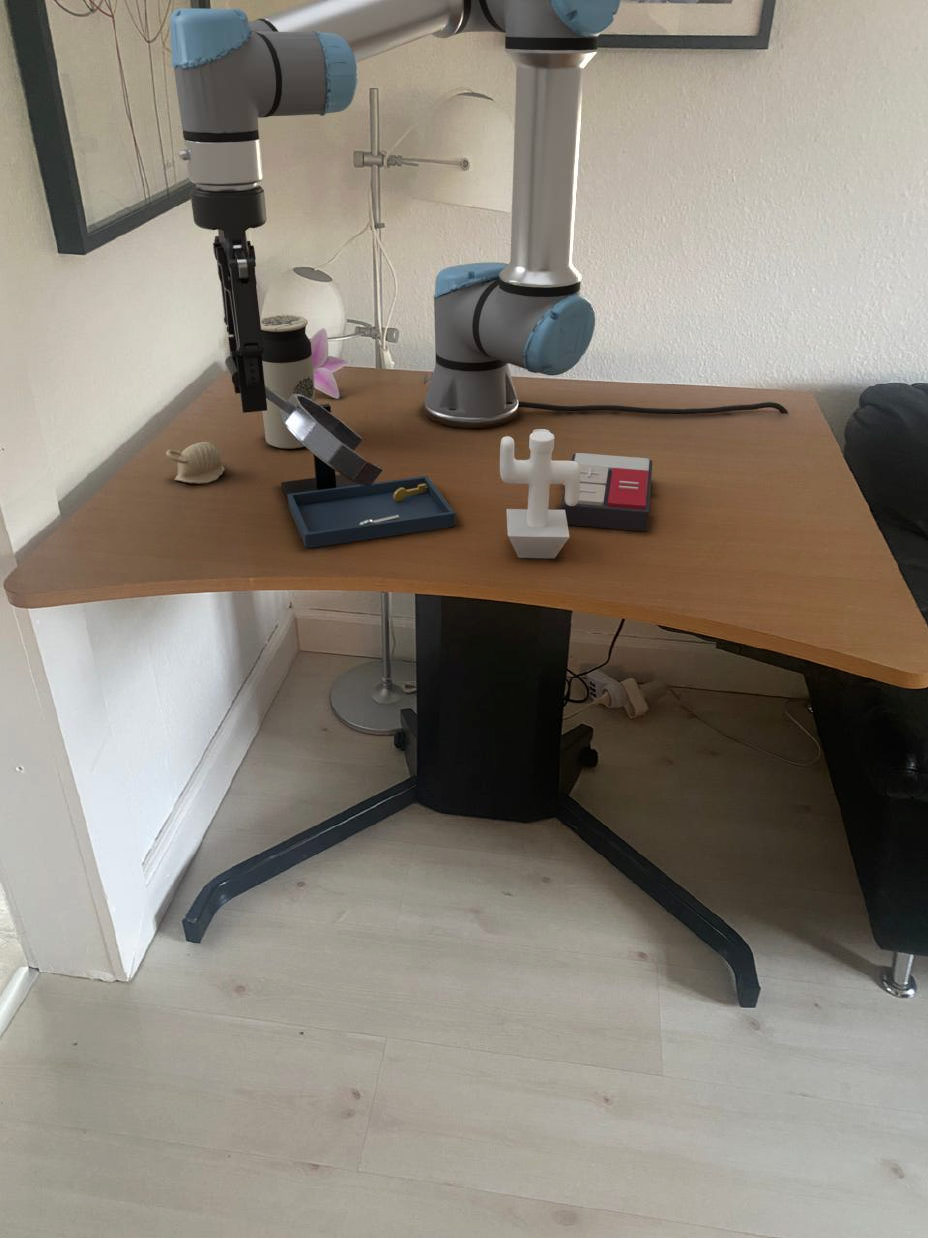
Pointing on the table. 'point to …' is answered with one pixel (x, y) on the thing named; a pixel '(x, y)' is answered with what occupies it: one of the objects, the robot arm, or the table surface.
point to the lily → (324, 365)
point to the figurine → (538, 496)
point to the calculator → (611, 492)
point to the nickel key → (380, 520)
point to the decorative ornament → (198, 463)
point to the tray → (368, 512)
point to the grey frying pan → (320, 433)
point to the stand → (317, 477)
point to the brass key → (409, 492)
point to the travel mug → (285, 371)
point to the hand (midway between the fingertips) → (250, 400)
